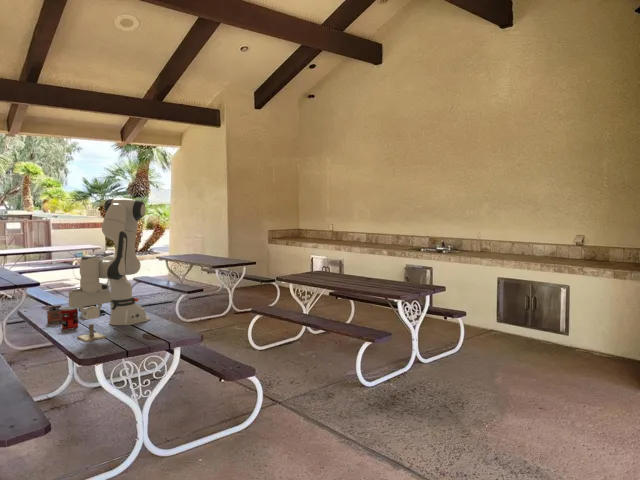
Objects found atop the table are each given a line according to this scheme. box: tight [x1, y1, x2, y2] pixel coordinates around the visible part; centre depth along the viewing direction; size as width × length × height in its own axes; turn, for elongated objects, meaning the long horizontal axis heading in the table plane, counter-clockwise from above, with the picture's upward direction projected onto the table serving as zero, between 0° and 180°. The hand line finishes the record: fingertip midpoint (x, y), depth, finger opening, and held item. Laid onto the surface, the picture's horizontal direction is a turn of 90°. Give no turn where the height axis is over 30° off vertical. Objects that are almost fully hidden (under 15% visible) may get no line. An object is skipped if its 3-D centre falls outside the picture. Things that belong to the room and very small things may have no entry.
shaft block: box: [76, 323, 107, 343], centre depth 241 cm, size 10×10×7 cm
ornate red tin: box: [46, 304, 62, 325], centre depth 273 cm, size 8×3×10 cm, turn 126°
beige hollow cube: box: [82, 306, 100, 320], centre depth 240 cm, size 6×6×6 cm
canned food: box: [60, 306, 79, 330], centre depth 262 cm, size 8×8×11 cm
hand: (90, 314), depth 240 cm, fingers closed on beige hollow cube, 6 cm apart
